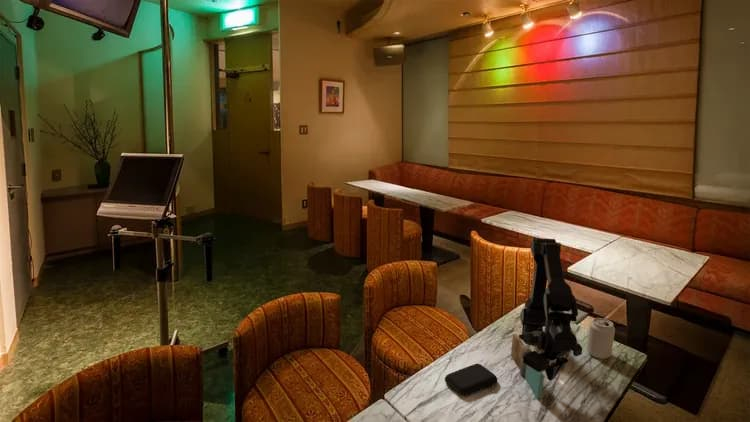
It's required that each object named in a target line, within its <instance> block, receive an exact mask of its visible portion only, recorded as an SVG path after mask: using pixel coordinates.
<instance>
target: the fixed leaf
mask: <svg viewBox="0 0 750 422" xmlns="http://www.w3.org/2000/svg"><path fill="white" fill-rule="evenodd" d="M532 351H533V350H531V349H530V348H527V347H526V346H525V343H523V341H522V339H521V338H520V337H519V335H518V334H516V333H514V334H512V339H511V351H510V352H511V353H510V356H511V358H512V360H513V361H514V363H515V365H516V366H517V368H518V369H519V371H520V373H519V374H520V377H523V378H525V370H522V369H521V363H522V359H523V355H525V354H527V353H530V352H532Z"/></svg>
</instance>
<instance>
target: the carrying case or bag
mask: <svg viewBox="0 0 750 422" xmlns="http://www.w3.org/2000/svg"><path fill="white" fill-rule="evenodd" d="M444 382H445V383H446V384H447V385H448V386H449V387H451V388H452V390H454V391H455V392H457V394H459V395H460V396H462V397H466V395H467V396H470V395H473V394H475V393H477V392H480V391H482V390H485V389H486V388H489V387H490V389H492V388H494V387H495V386H496V385H497V383H498V377H497V376H496V375H495V373H493V372H492V371H490V370H489V369H488V368H487V367H485V366H484V365H482V364H481V363H475V364H472V365H468V366H466V367H462V368H460V369H458V370H455V371H453V372H450V373H448V374H446V376H445V377H444Z"/></svg>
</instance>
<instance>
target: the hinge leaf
mask: <svg viewBox="0 0 750 422" xmlns="http://www.w3.org/2000/svg"><path fill="white" fill-rule="evenodd" d="M521 369H522V370H525V377H524V379H525V380H526V382H527V384H528V385H529V387H530V389H531V391H532V393H533V394H534V396H535V397H536V399H537V400H541V399H542V398H543V397H542V396H543V388H544V387H543V386H544V380H545V375H544V373H543V371H542V372H537V371H536V370H534V369H532V368H531V367H529V366H528V365H526V364H525V363H523V359H522V363H521Z"/></svg>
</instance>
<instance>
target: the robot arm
mask: <svg viewBox="0 0 750 422" xmlns="http://www.w3.org/2000/svg"><path fill="white" fill-rule="evenodd" d="M561 251H562V243H561V242H557V241H556V238H540V237H535V238H533V239H532V240H531V241H530V252H531V254H532V258H533V260H534V262H535V263H534V268H533V269H534V271H533V275H532V284H531V293H530V297H529V298H528V299H527V300H526V301H525V302H524V305H523V308H522V310H521V311H520V313H519V320H520V324H521V326H522V330H521V334H518V337H519V339H521V340H523V342H524V345H529V346H537V349H538V350H540V351H543V352H540V353H539V352H538V351H535V350H531V351H532V352H530V353H527V354H525V355H523V363H525V364H526V365H528V366H529V367H531V368H532V369H534V370H536V371H537V372H542V373H543V371H545V375H546V378H547V380H548V381H550V382H551V381H553V380H554V379H555V378H556V376H557V375H558V374H559V373H560V372H561V370H562V369H563V368H564V367H565V365H566V364H567V363H569V359H568V358H567V357H566V355H567V354H568V353H571V351H572V355H573V356H574V357H579V356H581V355H582V354H583V347H582V345H581V344H580V343H578V340H577V337H576V335H575V333H574V330H573V329H572V327H571V322H577V317H578V315H579V311H578V303H577V299H576V296H575V295H574V294H573V290H572V287H571V286H570V285H569V283H567V282H566V281H565V275H564V269H563V264H562V259H561V254H562V253H561ZM566 312H568V313H566ZM569 312H571V313H569Z"/></svg>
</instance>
